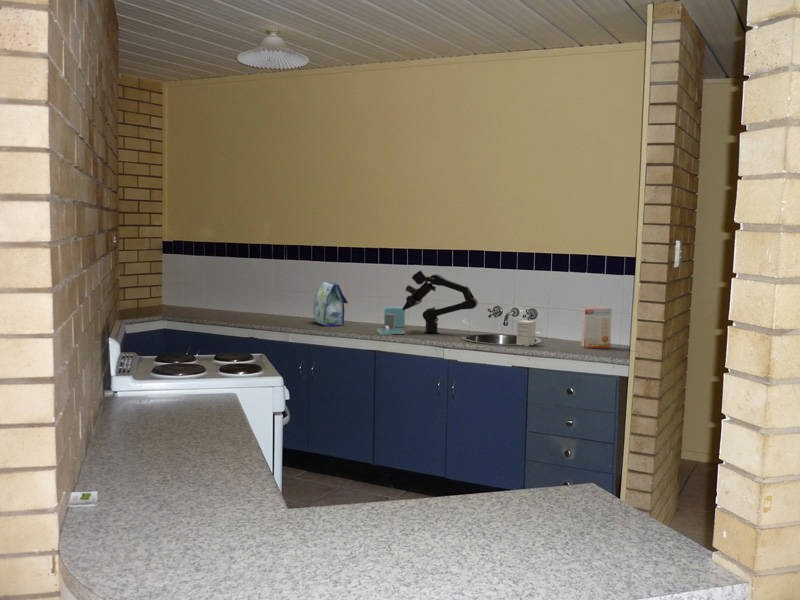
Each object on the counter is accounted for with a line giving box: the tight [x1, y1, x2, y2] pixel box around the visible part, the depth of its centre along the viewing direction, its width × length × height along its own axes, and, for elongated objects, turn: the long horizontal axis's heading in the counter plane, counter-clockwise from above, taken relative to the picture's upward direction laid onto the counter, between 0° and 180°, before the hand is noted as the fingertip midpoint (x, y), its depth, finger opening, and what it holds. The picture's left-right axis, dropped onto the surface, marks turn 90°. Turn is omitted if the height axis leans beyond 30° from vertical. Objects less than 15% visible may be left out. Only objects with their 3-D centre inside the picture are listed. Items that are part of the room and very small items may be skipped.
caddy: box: [376, 326, 406, 336], centre depth 452 cm, size 14×11×4 cm
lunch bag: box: [313, 281, 348, 327], centre depth 492 cm, size 22×17×26 cm
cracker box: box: [581, 306, 612, 349], centre depth 413 cm, size 14×6×21 cm, turn 92°
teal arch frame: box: [383, 306, 406, 328], centre depth 483 cm, size 12×4×12 cm, turn 96°
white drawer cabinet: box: [516, 319, 536, 347], centre depth 418 cm, size 7×7×13 cm
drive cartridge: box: [384, 313, 396, 329], centre depth 464 cm, size 5×5×10 cm
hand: (404, 309), depth 461 cm, fingers open, 9 cm apart
